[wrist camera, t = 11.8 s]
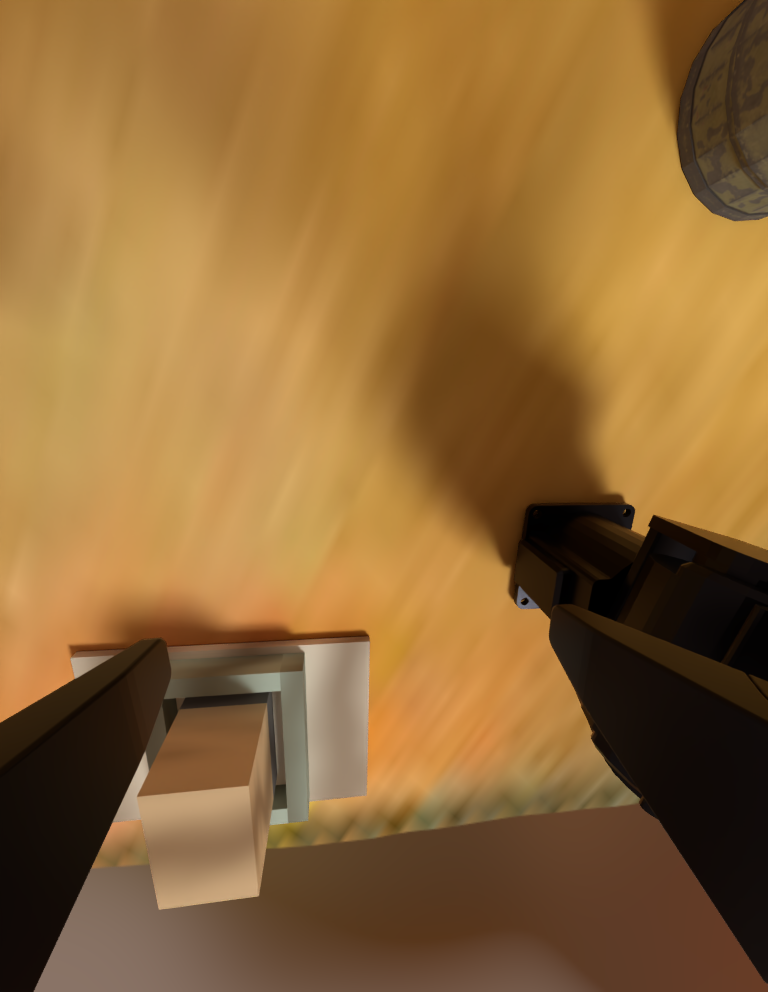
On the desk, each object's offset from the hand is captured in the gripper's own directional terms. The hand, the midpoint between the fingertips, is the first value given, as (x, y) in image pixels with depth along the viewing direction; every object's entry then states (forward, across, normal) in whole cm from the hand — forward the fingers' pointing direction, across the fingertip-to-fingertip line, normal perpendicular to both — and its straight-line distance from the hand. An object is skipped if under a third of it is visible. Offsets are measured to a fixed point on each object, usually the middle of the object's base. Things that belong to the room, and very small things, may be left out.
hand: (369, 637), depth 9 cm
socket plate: (+12, +8, +14) cm, 20 cm away
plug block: (+11, +8, +14) cm, 20 cm away
